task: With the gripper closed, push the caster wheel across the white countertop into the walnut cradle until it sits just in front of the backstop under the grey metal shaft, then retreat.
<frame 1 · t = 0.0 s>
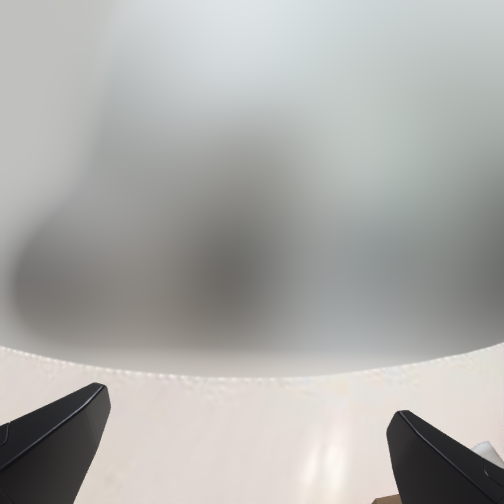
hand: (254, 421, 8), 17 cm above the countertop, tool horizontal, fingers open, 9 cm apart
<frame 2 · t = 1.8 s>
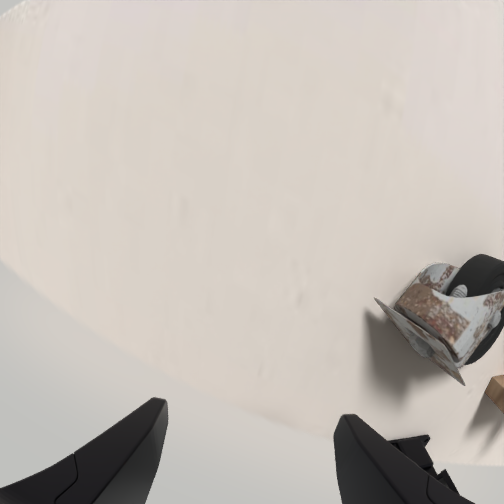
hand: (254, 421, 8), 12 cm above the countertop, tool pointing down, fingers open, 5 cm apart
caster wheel: (448, 294, 20), on the countertop
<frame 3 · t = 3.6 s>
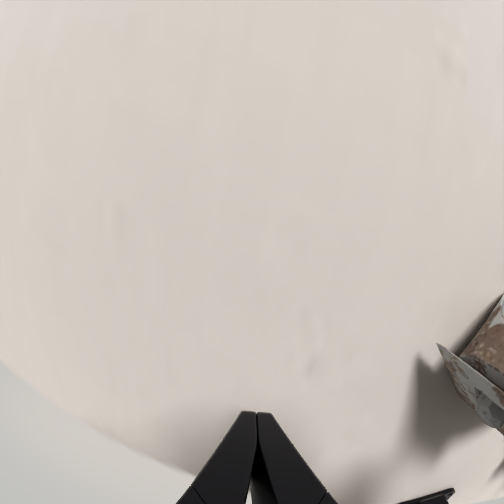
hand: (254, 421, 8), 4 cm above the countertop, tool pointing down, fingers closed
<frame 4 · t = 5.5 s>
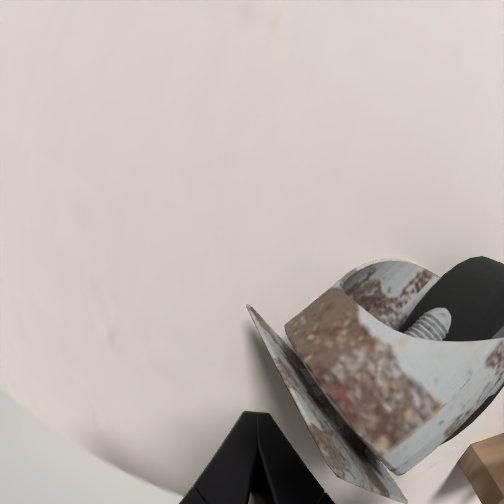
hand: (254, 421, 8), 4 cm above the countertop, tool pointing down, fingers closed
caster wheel: (416, 322, 12), on the countertop
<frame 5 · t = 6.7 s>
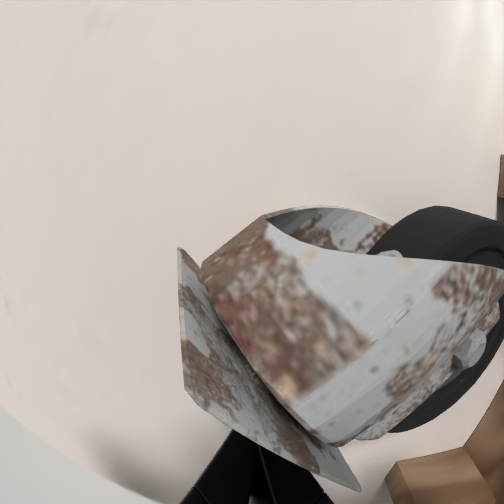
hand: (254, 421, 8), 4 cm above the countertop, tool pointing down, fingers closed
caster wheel: (381, 284, 11), on the countertop, touching gripper
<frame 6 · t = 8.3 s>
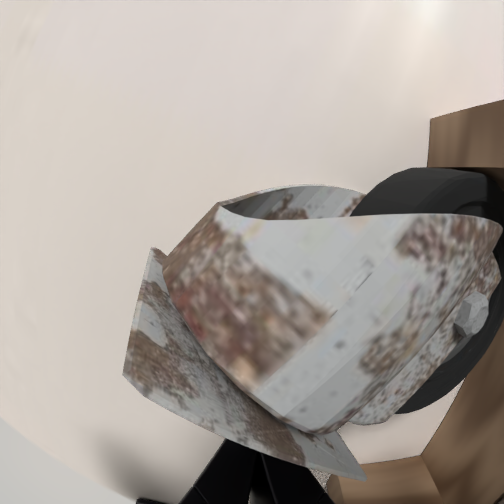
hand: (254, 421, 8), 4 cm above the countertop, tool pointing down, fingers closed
cradle: (488, 351, 12), on the countertop
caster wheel: (370, 259, 11), on the countertop, touching gripper
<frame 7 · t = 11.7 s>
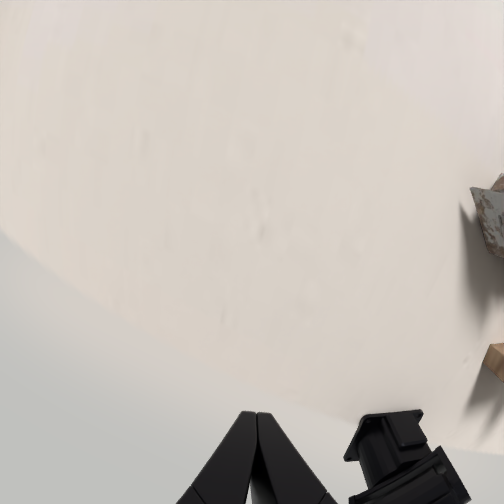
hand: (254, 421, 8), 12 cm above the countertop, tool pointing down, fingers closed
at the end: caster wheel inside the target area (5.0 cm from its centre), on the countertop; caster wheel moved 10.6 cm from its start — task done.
